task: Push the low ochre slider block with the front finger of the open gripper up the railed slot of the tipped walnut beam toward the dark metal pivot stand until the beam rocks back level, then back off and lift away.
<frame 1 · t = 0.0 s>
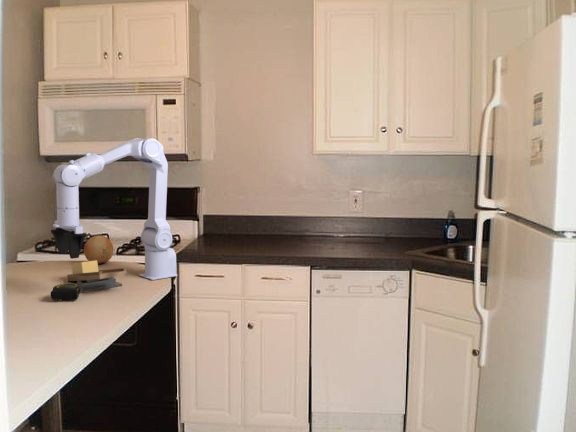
hand: (68, 255, 150), 10 cm above the table, fingers open, 7 cm apart
pivot stand: (96, 286, 157), on the table
beam: (96, 278, 156), point 2 cm above the table, tilted 13°, touching pivot stand, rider
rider: (85, 275, 162), point 2 cm above the table, tilted 13°, touching beam
onion: (99, 264, 186), on the table
tape measure: (67, 300, 143), on the table
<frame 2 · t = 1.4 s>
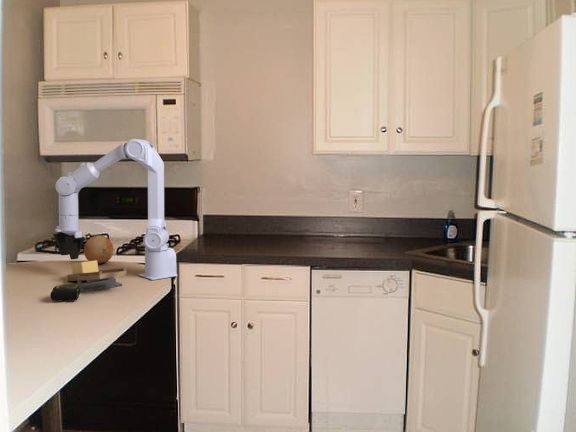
hand: (69, 257, 169), 6 cm above the table, fingers open, 7 cm apart
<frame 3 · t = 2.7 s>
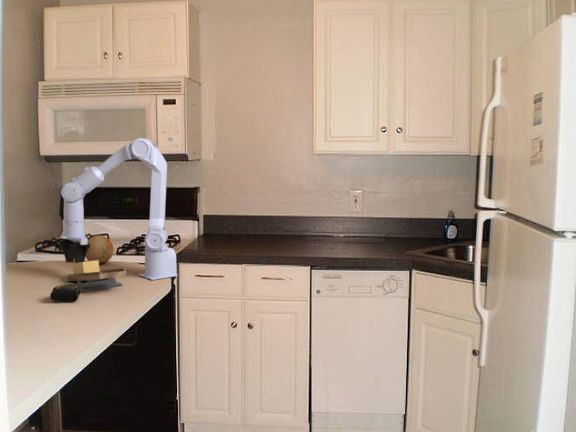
hand: (74, 264, 167), 4 cm above the table, fingers open, 7 cm apart
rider: (86, 274, 161), point 2 cm above the table, tilted 13°, touching beam, gripper
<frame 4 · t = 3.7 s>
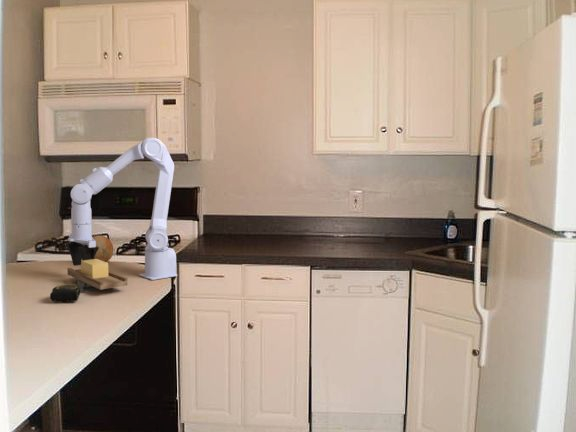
hand: (82, 267, 163), 4 cm above the table, fingers open, 7 cm apart
beam: (96, 279, 156), point 2 cm above the table, touching pivot stand
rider: (94, 275, 157), point 3 cm above the table, touching gripper
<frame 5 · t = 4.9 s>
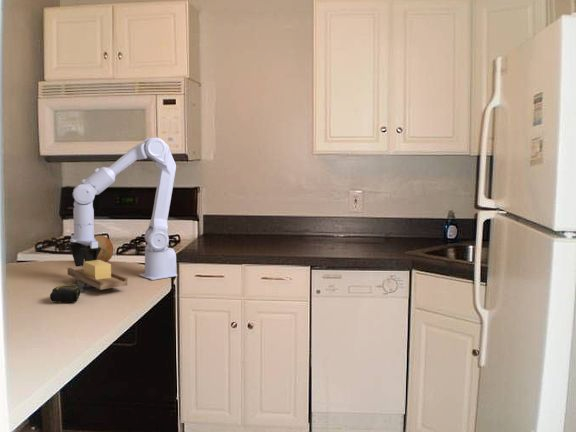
hand: (84, 268, 162), 4 cm above the table, fingers open, 7 cm apart
beam: (96, 279, 156), point 2 cm above the table, touching pivot stand, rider
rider: (97, 276, 156), point 3 cm above the table, touching beam, gripper
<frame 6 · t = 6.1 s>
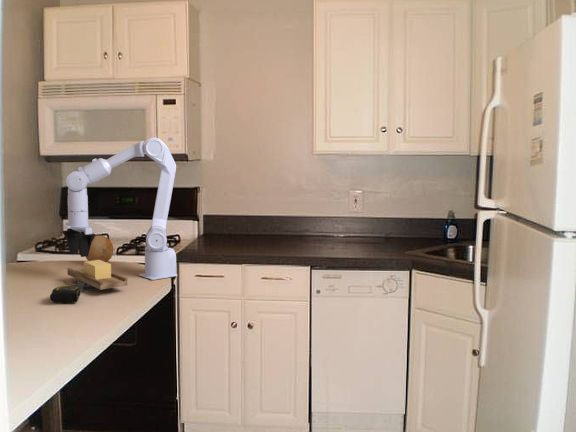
hand: (79, 254, 164), 8 cm above the table, fingers open, 7 cm apart
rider: (97, 276, 156), point 3 cm above the table, touching beam
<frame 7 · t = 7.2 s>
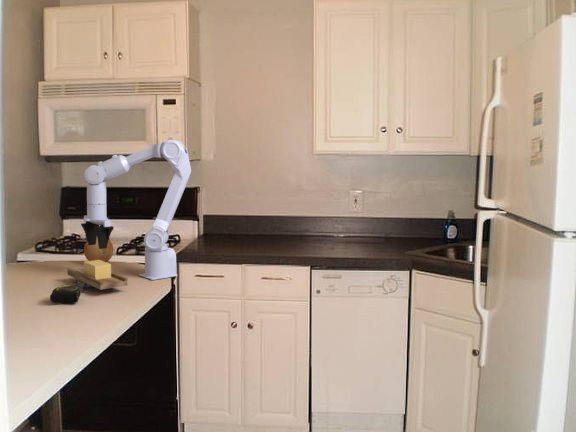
hand: (97, 246, 168), 9 cm above the table, fingers open, 7 cm apart
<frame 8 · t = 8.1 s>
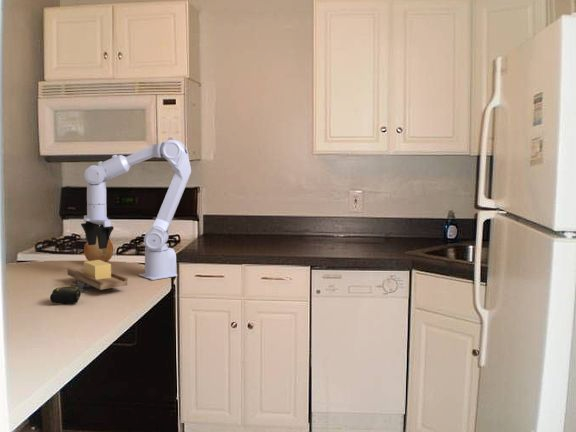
hand: (97, 246, 168), 9 cm above the table, fingers open, 7 cm apart
at the end: beam tilted 0°; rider inside the target area on the beam (0.7 cm from its centre), point 1.2 cm above the beam's base; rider touching beam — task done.
